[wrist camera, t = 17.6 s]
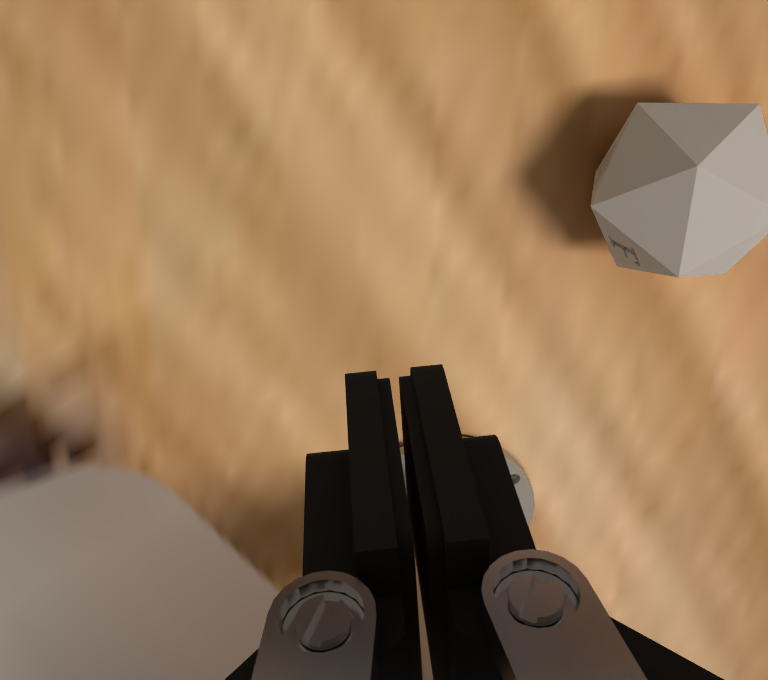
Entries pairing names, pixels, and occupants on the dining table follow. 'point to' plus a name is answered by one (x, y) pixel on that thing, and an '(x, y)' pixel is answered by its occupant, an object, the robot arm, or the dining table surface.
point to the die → (684, 188)
